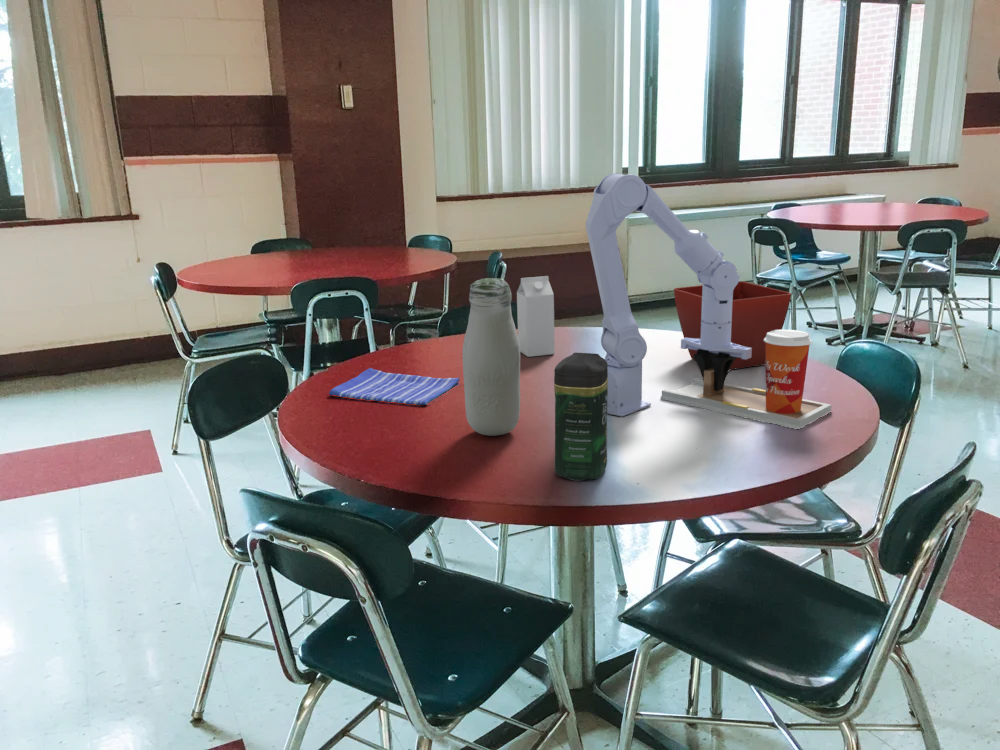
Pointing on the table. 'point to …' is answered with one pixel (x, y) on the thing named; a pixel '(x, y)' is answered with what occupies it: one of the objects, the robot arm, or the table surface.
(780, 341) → the coffee cup
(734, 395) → the wooden l-shaped board
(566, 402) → the coffee jar
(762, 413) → the board
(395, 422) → the table surface
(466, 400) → the glass bottle
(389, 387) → the dish towel
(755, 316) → the plant pot
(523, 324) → the milk carton
